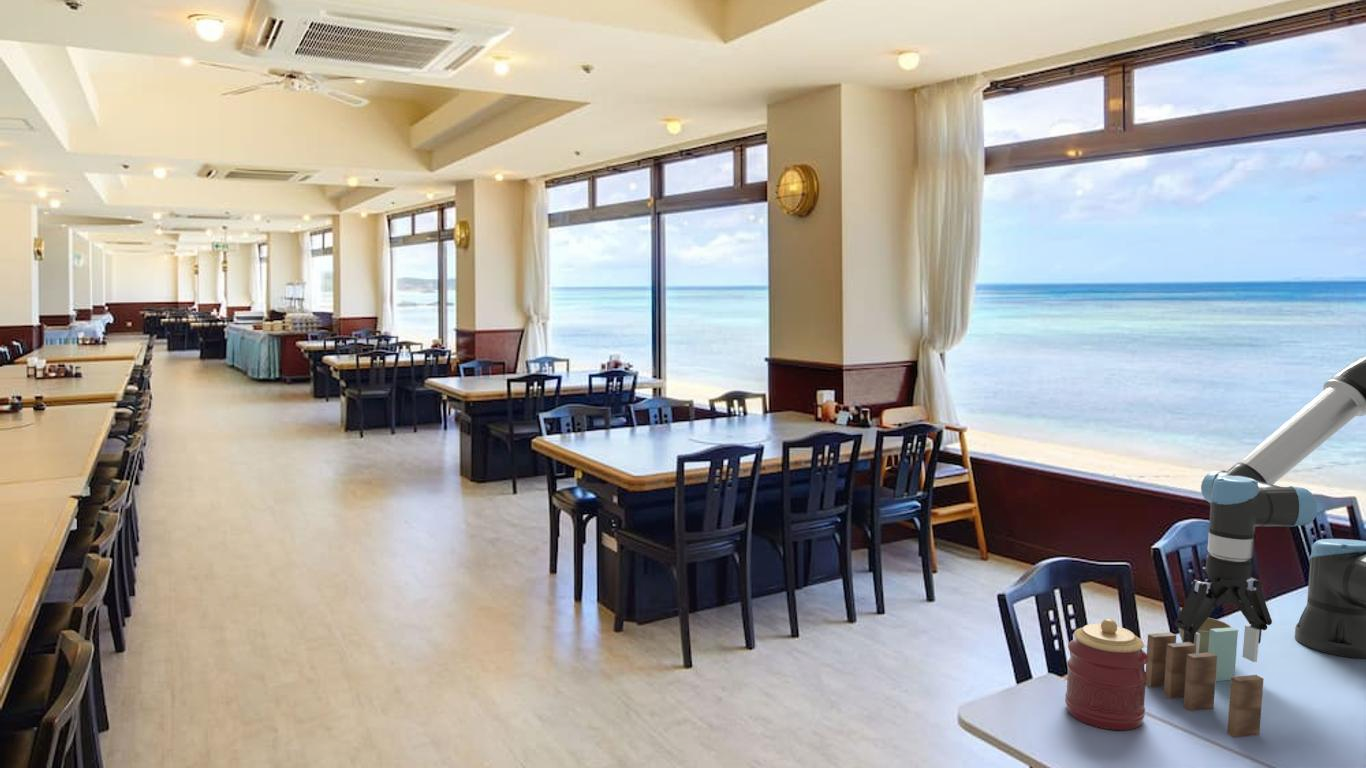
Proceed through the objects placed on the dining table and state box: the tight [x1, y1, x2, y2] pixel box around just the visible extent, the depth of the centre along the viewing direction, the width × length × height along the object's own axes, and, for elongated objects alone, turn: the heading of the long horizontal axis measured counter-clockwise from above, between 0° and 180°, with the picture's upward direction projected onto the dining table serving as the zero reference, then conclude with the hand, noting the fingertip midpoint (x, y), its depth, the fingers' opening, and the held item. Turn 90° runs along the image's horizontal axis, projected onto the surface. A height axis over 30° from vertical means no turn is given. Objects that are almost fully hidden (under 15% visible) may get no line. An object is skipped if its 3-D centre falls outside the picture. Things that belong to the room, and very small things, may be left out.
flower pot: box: [1178, 617, 1232, 653], centre depth 189 cm, size 10×10×7 cm
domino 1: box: [1145, 631, 1177, 688], centre depth 175 cm, size 5×2×10 cm, turn 102°
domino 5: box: [1226, 674, 1264, 738], centre depth 155 cm, size 5×2×10 cm, turn 102°
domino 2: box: [1163, 642, 1196, 700], centre depth 170 cm, size 5×2×10 cm, turn 102°
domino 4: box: [1208, 626, 1239, 682], centre depth 178 cm, size 5×2×10 cm, turn 102°
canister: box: [1064, 618, 1148, 731], centre depth 162 cm, size 13×13×18 cm
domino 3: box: [1183, 652, 1217, 712], centre depth 165 cm, size 5×2×10 cm, turn 102°
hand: (1220, 661), depth 178 cm, fingers open, 13 cm apart
